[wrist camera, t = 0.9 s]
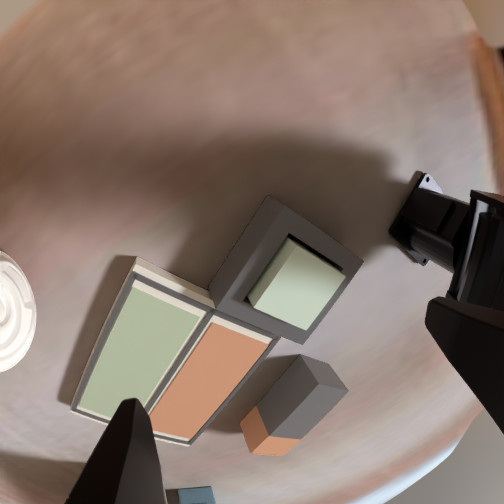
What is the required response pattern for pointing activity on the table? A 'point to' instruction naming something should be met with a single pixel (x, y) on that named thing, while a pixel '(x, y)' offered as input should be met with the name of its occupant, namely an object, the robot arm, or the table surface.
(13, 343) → the white steamed bun
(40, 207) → the table surface
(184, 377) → the picture board
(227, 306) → the button housing
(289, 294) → the button
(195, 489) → the gum box
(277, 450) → the orange-tipped gray block
